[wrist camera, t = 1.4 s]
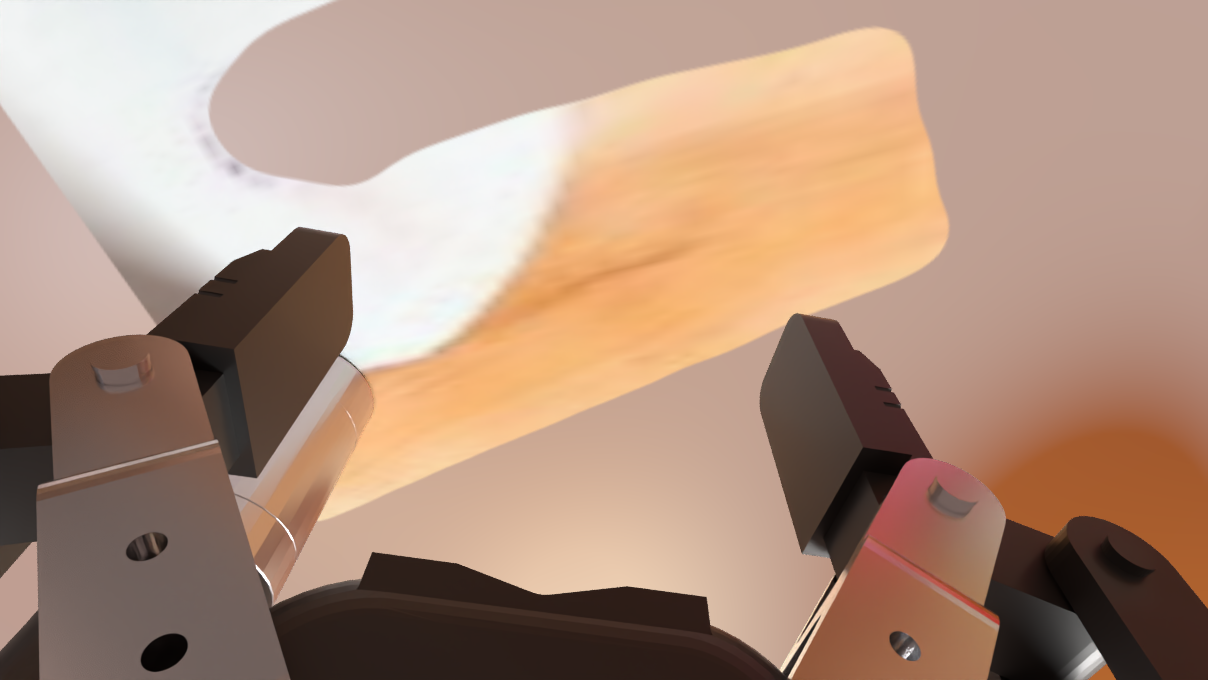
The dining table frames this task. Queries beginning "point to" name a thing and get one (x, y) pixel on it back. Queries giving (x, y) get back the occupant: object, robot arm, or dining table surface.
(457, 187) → the dining table surface
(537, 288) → the dining table surface
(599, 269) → the dining table surface
